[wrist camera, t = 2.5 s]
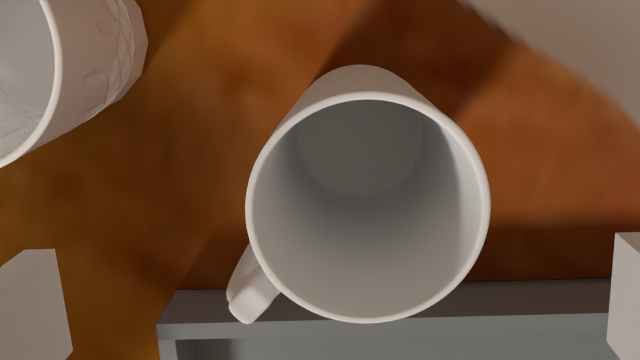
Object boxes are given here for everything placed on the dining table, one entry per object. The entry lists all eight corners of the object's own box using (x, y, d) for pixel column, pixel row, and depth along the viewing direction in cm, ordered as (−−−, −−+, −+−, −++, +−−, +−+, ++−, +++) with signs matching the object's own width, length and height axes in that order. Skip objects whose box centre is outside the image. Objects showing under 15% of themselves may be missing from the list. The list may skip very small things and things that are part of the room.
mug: (363, 25, 27) (375, 35, 15) (462, 133, 28) (542, 218, 16) (209, 175, 29) (118, 282, 18) (307, 270, 30) (281, 430, 19)
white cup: (141, 143, 29) (38, 208, 19) (-20, 94, 29) (-207, 135, 19) (178, -25, 27) (83, -46, 17) (4, -79, 26) (-192, -131, 17)
